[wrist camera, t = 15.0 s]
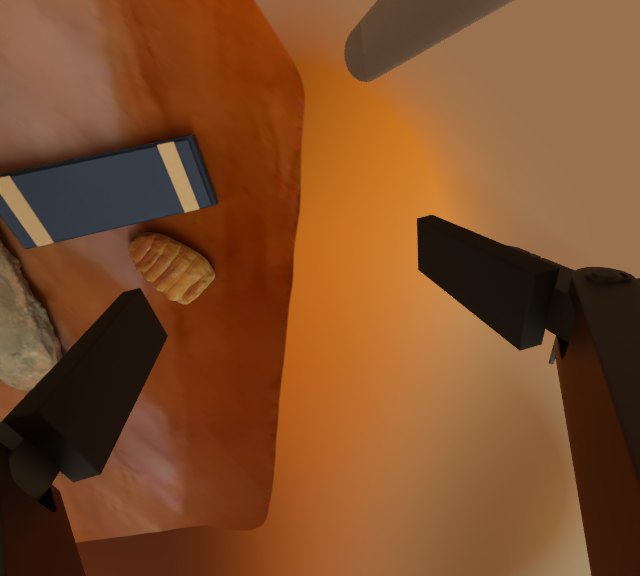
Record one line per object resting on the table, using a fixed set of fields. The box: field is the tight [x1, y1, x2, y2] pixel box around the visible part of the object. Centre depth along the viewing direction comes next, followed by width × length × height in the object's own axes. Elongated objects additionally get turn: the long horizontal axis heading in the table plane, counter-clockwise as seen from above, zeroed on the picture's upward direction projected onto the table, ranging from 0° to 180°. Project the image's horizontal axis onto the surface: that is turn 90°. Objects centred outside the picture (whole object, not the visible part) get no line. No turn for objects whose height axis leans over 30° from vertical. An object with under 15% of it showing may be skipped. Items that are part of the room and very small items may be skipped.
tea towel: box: [0, 135, 218, 249], centre depth 29 cm, size 20×7×3 cm, turn 101°
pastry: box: [129, 232, 215, 304], centre depth 33 cm, size 9×7×4 cm
